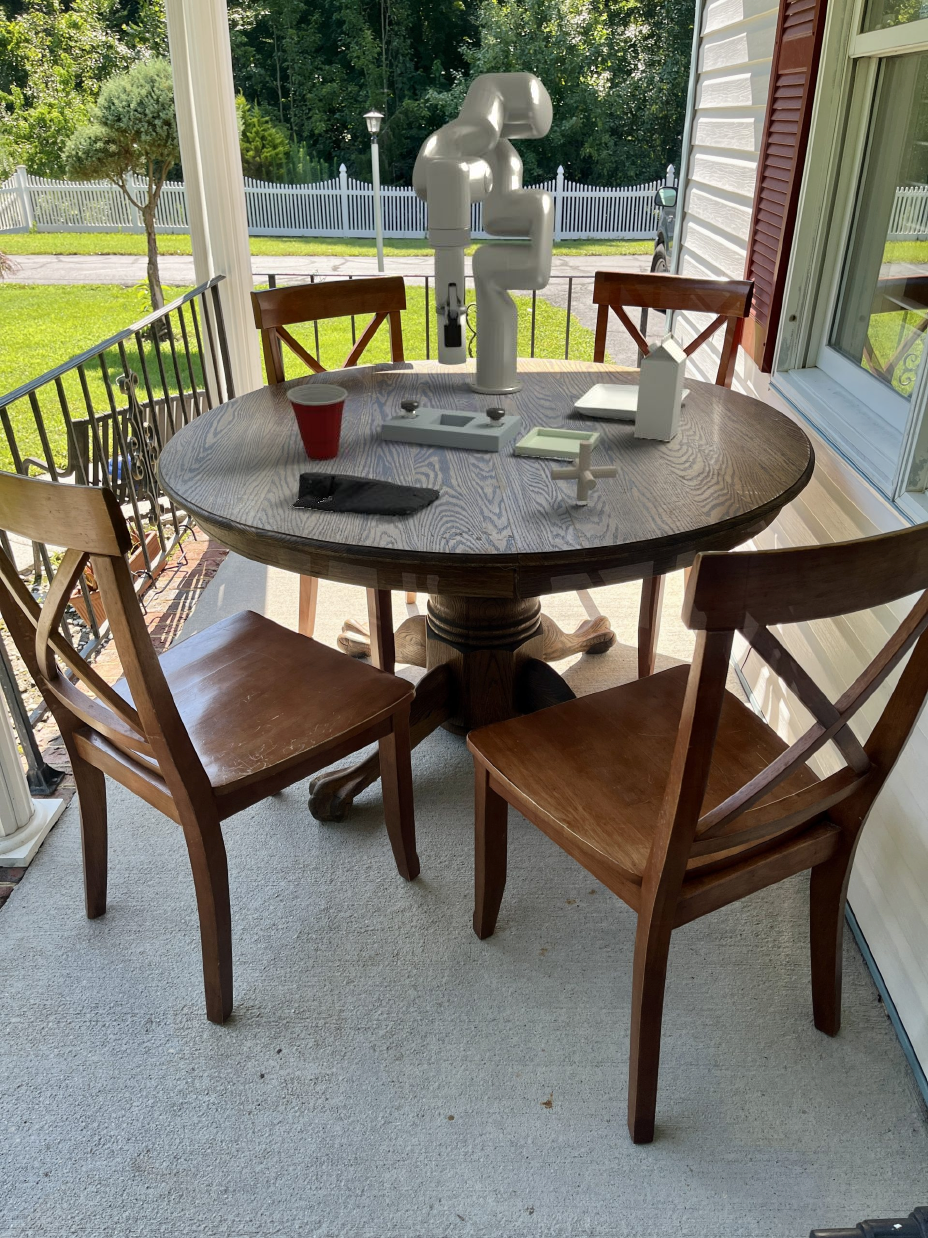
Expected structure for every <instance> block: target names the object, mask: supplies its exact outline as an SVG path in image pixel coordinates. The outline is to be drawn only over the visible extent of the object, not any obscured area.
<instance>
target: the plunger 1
mask: <svg viewBox="0 0 928 1238" xmlns="http://www.w3.org/2000/svg"><path fill="white" fill-rule="evenodd" d="M419 407H420V402H419V400H413V399H406V400H402V401H400V409H402V410H403V411H405V418H409V419H415V418H416V410H415V409H418V408H419Z"/></svg>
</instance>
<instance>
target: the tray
mask: <svg viewBox="0 0 928 1238" xmlns="http://www.w3.org/2000/svg"><path fill="white" fill-rule="evenodd" d="M600 440H601V433H600V432H591V431H582V430H581V431H580V430H571V429H560V428H551V427H550V428H549V427H542V426H541V427H540V426H539V427H538V426H534V427H533V428H532V429H531V430H530V431H529V432H528V433H527V434H526V435H525V436H524V437H522V438H521V440H520V441H519V442H517V444H515V445H514V456H516V454H517V455H528V456H539V457H557V458H566V459H567V458H568V459H577V458H579V448H580V442H581V441H590V442H592V447H591V451H592V449H593V448H594V447H595V446H596V444H597V443H598V442H599V441H600ZM596 447H597V446H596Z"/></svg>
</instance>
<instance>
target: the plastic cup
mask: <svg viewBox="0 0 928 1238" xmlns="http://www.w3.org/2000/svg"><path fill="white" fill-rule="evenodd" d="M348 395H349V393H348V391H347V390H346V389H345V388H343V387H341V386H337V385H333V384H326V383H325V384H323V383H314V384H312V383H311V384H304V385H299V386H296V387H293V388H290V389H289V390H288V391H287V392H286V397H287V399H288V400H289V402H290V404H291V408H292V410H293V413H294V416H295V419H296V423H297V427H298V431H299V434H300V438H301V441H302V444H303V448H304V451H305V455H306V457H307V458H308V459H309V458H310V459H309V460H313V459H314V461H329V460H331V459H335V458H337V457H338V456H339V452H340V438H341V432H342V422H343V411H344V406H345V401H346V398H347V396H348Z"/></svg>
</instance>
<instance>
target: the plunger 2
mask: <svg viewBox="0 0 928 1238" xmlns="http://www.w3.org/2000/svg"><path fill="white" fill-rule="evenodd" d="M485 411H486V412H485V413H486V416H487V417H490V426H491V427H501V417H504V416H505V415H506V409H505V408H502V407H490V408H487V409H486V410H485Z"/></svg>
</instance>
